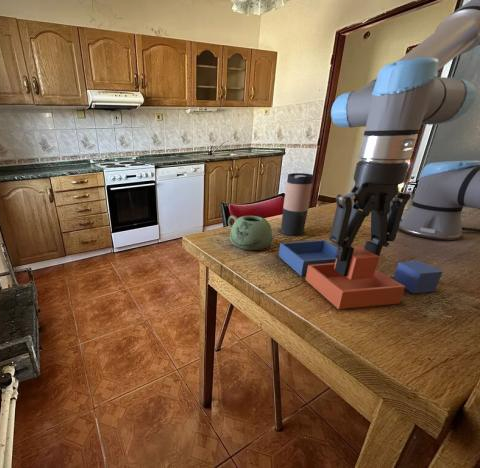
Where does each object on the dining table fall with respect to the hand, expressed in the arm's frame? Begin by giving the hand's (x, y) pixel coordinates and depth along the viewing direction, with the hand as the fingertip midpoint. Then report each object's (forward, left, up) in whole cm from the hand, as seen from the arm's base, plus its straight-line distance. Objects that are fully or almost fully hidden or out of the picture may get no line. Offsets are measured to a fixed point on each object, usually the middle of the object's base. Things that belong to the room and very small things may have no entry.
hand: (353, 271), depth 55 cm
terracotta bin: (0, 0, -5) cm, 5 cm away
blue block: (-15, 0, -5) cm, 16 cm away
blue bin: (0, -13, -5) cm, 14 cm away
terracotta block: (0, 0, 0) cm, 0 cm away
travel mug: (-7, -36, -5) cm, 37 cm away
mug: (+12, -30, -5) cm, 32 cm away
